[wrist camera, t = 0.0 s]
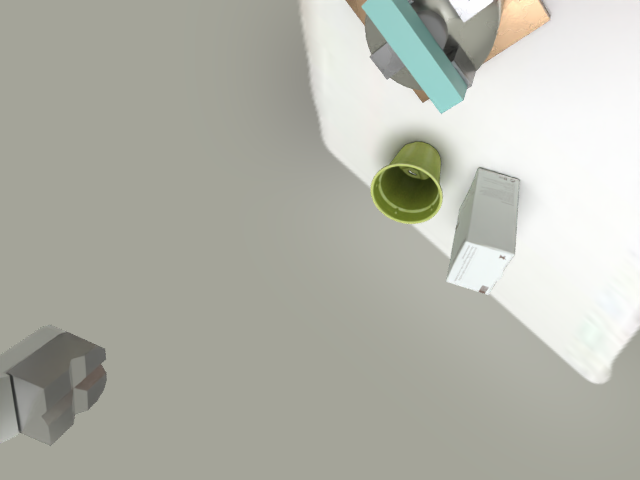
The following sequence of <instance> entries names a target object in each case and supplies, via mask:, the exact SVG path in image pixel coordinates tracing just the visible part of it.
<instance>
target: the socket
mask: <svg viewBox="0 0 640 480" xmlns="http://www.w3.org/2000/svg"><path fill="white" fill-rule="evenodd" d="M346 1H347V3H348V4H349V5H350V7H351V8H352V9H353V11H354V12H355V13H356V15H357V16H358V17H359V19H360V20H361V21H362V23H363V24H364V25H365V32H366V39H367V43H368V47H369V49H370V52H371V54H372V55H371V56H370V58H371V59H372V61H373V62H374V63H375V65H376V66H377V67H378V68H379V70H380V71H381V72H382V74H383V75H384V76H385V78H386V79H389V78H391V79H393V80H394V81H396V82H397V83H399V84H401V85H403V86H406V87H408V88H411V89H413V90H414V92H415V93H416V94H417V96H418V97H419V98H420V100H421V101H422V102H425V101H426V100H428V99H430V98H429V97H428V96H427V94H426V93H425V92H424V90H423V89H422V88H421V86H420V85H419V84H418V82H417V81H416V80H415V78H414V77H413V75H412V74H411V73H410V71H409V70H408V69H407V67H406V66H405V65H404V63H403V62H402V61H401V59H400V58H399V57H398V55H397V54H396V53H395V51H394V50H393V49H392V47H391V46H390V45H389V43H388V42H387V41H386V39H385V38H384V36H383V35H382V34H381V32H380V31H379V30H378V28H377V27H376V26H375V24H374V23H373V22H372V20H371V19H370V18H369V16H368V15H367V14H366V12H365V11H364V10H363V8H362V7H361V6H362V5H363V4H364V3H365V2H366V1H367V0H346ZM407 1H408V2H409V3H410V5H411V6H412V8H413V9H414V11H415V12H418V11H422V10H429V11H433V12H435V13H437V14H439V15H440V16H441V17H442V18H443V19H444V21H445V22H446V25H447V28H448V38H447V42H446V44H445V47H444V49H443V52H444V53H445V55H446V56H447V58H448V59H449V60H450V62H451V63H452V65H453V66H454V68H455V69H456V70H457V72H458V73H459V75H460V76H461V78H462V79H463V80H464V82H465V83H466V85H467V89H468V88H469V87H471V86H472V83H473V79H474V76H475V72H476V71H477V70H478V69H479V68H480V66H481V65H482V64H483V63H485V62H486V61H488V60H490V59H491V58H493V57H494V56H496V55H497V54H499V53H500V52H502V51H503V50H505V49H506V48H508V47H509V46H511V45H513V44H514V43H516V42H517V41H519V40H520V39H522V38H523V37H525V36H526V35H528V34H529V33H531V32H533V31H534V30H536V29H537V28H539V27H540V26H542V25H543V24H545V23H546V22H548V21H549V20H550V15H549V13H548V12H547V10H546V8H545V7H544V5H543V3H542V1H541V0H407Z"/></svg>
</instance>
